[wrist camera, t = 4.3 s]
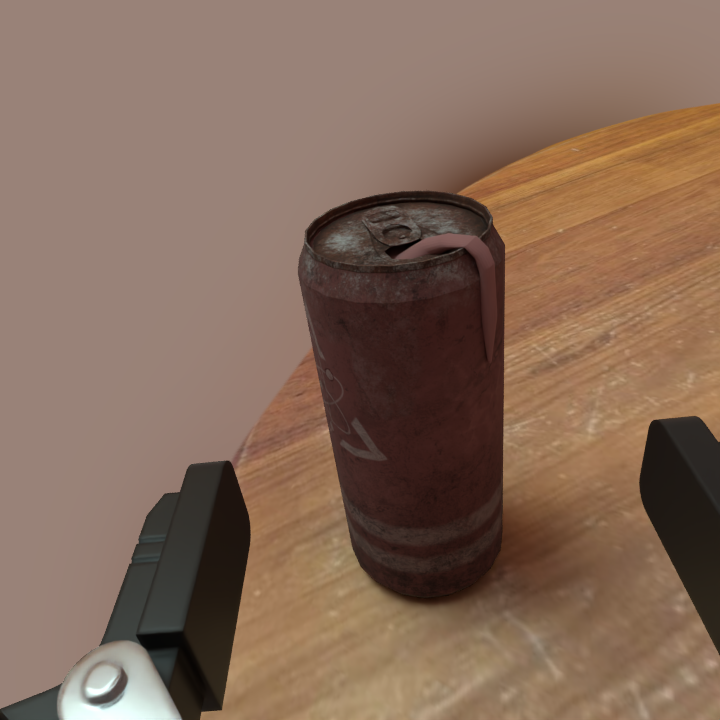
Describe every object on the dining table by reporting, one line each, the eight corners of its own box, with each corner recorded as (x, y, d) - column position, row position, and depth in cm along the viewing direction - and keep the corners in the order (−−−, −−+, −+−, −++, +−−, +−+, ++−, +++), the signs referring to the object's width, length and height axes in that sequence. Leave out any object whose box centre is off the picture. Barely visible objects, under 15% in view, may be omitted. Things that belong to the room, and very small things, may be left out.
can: (466, 636, 22) (450, 286, 14) (325, 563, 25) (248, 247, 17) (531, 519, 26) (547, 193, 18) (401, 469, 29) (367, 176, 21)
